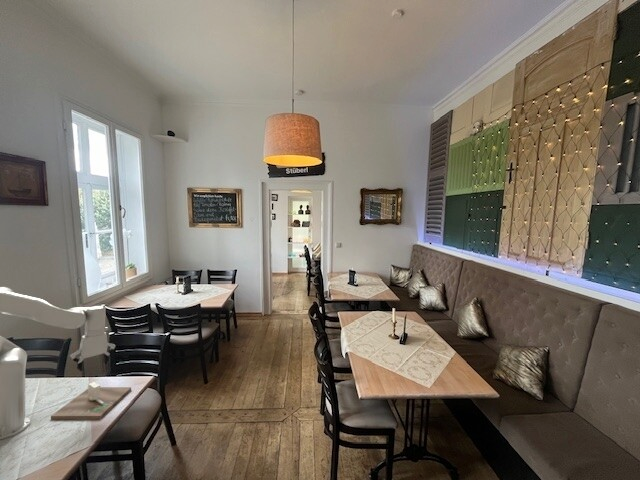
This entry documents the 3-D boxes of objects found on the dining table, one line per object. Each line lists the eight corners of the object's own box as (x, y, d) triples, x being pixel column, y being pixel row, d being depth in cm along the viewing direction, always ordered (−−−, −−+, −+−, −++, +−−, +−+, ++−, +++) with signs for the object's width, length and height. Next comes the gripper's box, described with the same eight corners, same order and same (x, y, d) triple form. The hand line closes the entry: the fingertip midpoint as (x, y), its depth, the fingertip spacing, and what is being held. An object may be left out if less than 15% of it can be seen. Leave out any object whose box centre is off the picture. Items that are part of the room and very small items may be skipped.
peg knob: (87, 398, 132) (87, 384, 132) (95, 394, 135) (95, 381, 135) (98, 406, 127) (98, 391, 127) (106, 402, 130) (106, 388, 129)
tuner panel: (100, 419, 121) (100, 415, 121) (50, 419, 120) (50, 415, 120) (131, 390, 143) (131, 387, 143) (89, 389, 142) (89, 386, 142)
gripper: (113, 325, 140) (111, 358, 141) (69, 334, 126) (67, 370, 127) (118, 329, 136) (117, 362, 136) (73, 338, 122) (71, 376, 122)
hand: (93, 366), depth 131 cm, fingers open, 9 cm apart
